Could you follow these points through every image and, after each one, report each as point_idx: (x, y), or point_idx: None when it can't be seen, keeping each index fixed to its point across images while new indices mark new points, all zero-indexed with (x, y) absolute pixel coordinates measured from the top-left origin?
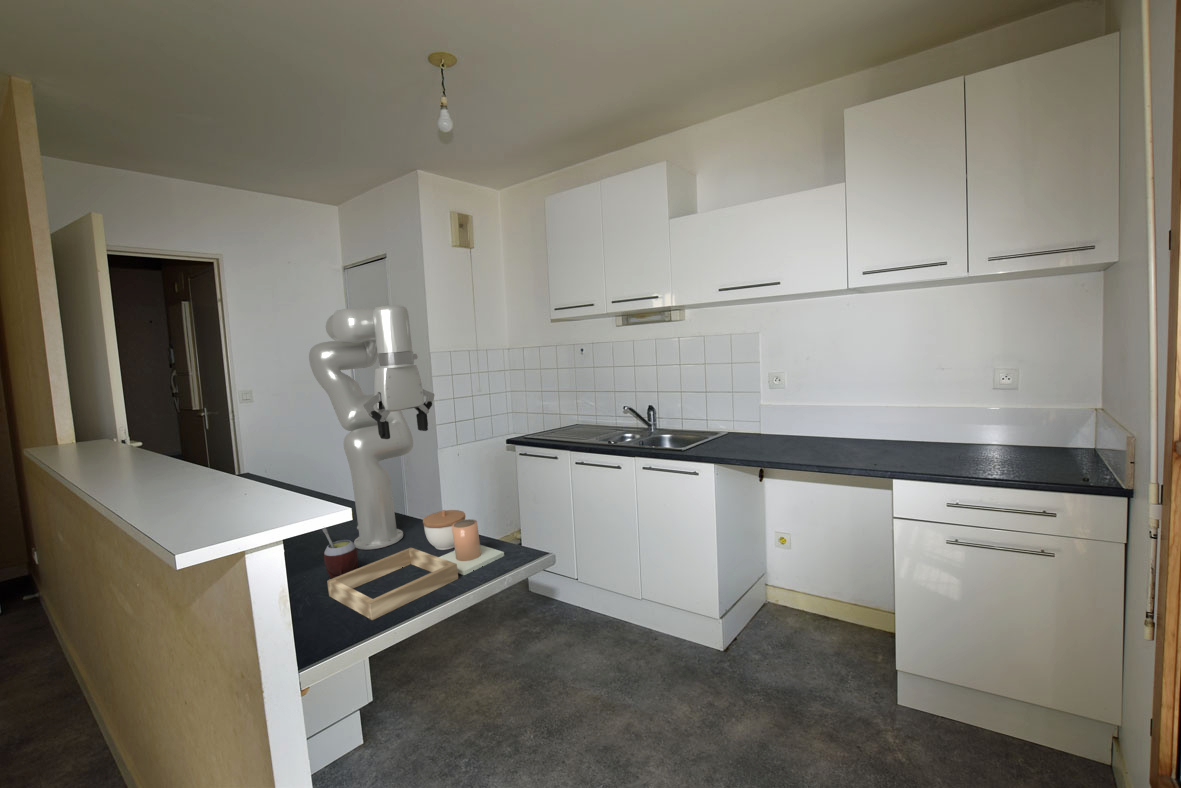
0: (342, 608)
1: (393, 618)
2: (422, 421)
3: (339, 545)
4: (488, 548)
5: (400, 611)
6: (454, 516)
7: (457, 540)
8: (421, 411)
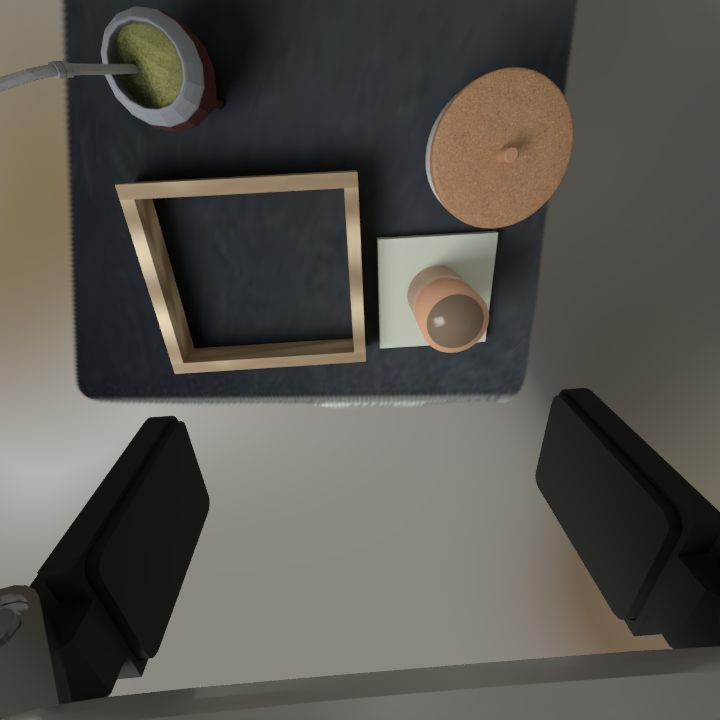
0: None
1: (216, 378)
2: (581, 534)
3: (148, 62)
4: (485, 298)
5: None
6: (513, 195)
7: (415, 317)
8: (684, 641)
